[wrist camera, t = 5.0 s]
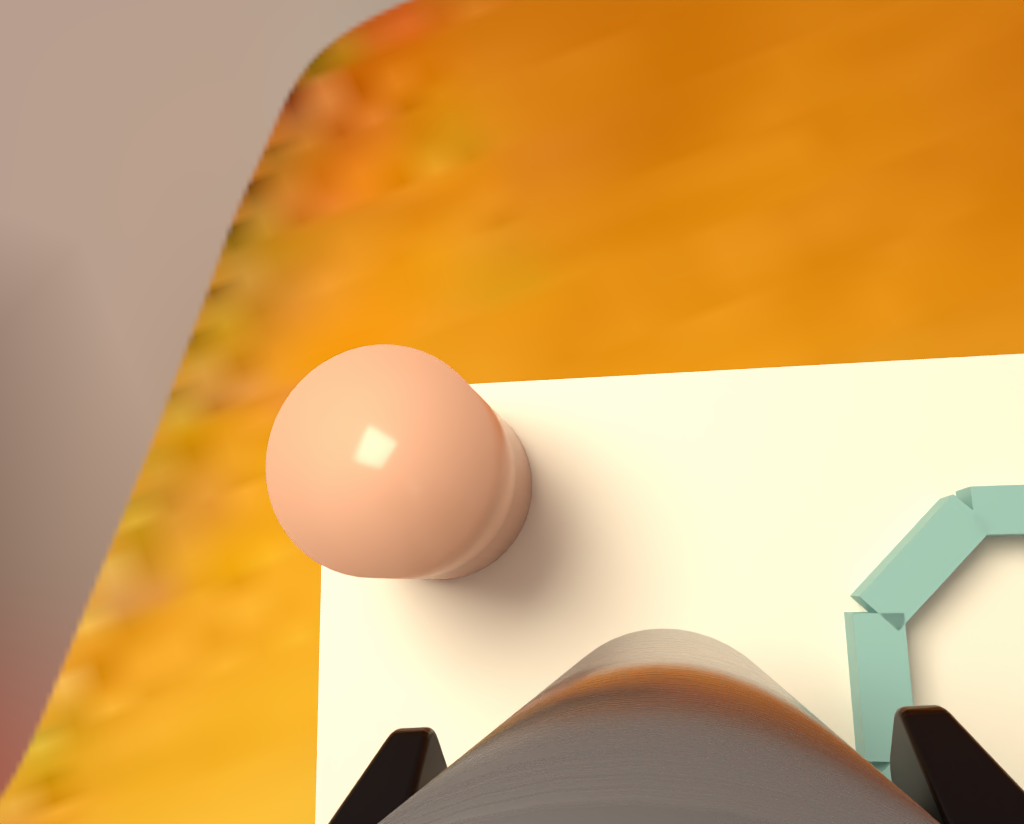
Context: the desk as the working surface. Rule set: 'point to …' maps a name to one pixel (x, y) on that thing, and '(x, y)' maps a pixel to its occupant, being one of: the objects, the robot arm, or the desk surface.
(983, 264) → the desk surface
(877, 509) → the board
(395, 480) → the peach rounded cylinder
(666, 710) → the shiny metal cylinder
